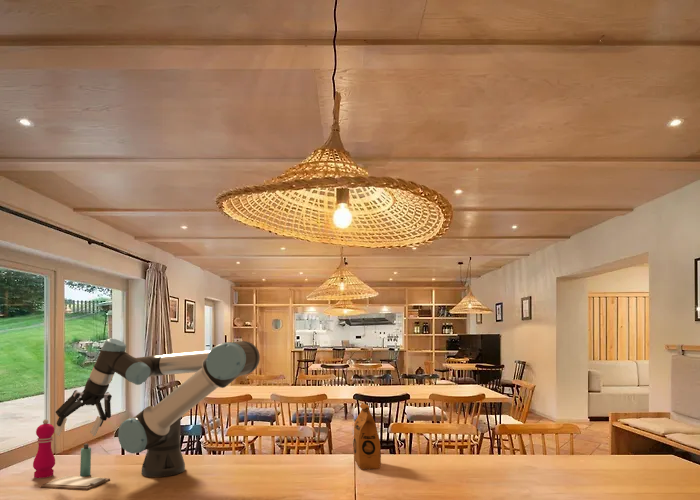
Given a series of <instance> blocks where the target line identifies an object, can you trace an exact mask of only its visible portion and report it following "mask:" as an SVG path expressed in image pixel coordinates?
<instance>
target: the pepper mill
mask: <svg viewBox="0 0 700 500" xmlns="http://www.w3.org/2000/svg"><path fill="white" fill-rule="evenodd" d="M54 434H55V427H54V425H53V424H50V423H49V420H48V419H43V420H42V424H40V425H38V427H37V428H36V430H35V435H36V436H37V441H36V442H37V443H38V447H37V452H36V455H35V457H34V459H33V462H32V468H33V469H34V470H35V471H34V472H33V478H34V479H47V478H50V477H53V476H54V472H55V471H54V469H53V468H54V467H55V465H56V458H55V456H54V452H53V450H52V441H54V440H53V438H54V437H53V435H54Z"/></svg>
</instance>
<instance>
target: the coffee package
mask: <svg viewBox="0 0 700 500" xmlns="http://www.w3.org/2000/svg"><path fill="white" fill-rule="evenodd" d="M359 408H361V410H360V412H359V414H358V415H357V416H356V417H357V418H356V419H355V421H354V426H353V440H352V441H353V445H352V447H353V457H354V462H355V464H356V465H357V466H358V468H359V469H361V470H378V469H381V461H382V450H381V440H380V436H379V433H378V428H377V425H376V423H375V420H374V418H373V414H372V413H371V411H370V405H368V404H367V403H364V402H362V403H361V404H360V405H359Z"/></svg>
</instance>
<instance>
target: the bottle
mask: <svg viewBox="0 0 700 500" xmlns="http://www.w3.org/2000/svg"><path fill="white" fill-rule="evenodd" d="M89 445H90V444H89V443H84V444H83V447H81V448H80V462H79V463H80V470H79V471H80V472H79V473H80V474H79V477H86V476H87V477H91V474H92V473H91V472H92V470H91V468H92V467H91V466H92V463H91V462H92V461H91V460H92V447H89Z"/></svg>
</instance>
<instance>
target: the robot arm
mask: <svg viewBox="0 0 700 500" xmlns="http://www.w3.org/2000/svg"><path fill="white" fill-rule="evenodd" d="M126 349H127V345H126V343H125V342H124V341H121V340H119V339H116V338H108V339H106V340H105V342H104V344H103V346H102V347H101V348H100V350H99V354H98V356H97V359H96V362H95V363H94V365H93V368H92V370H91V372H90V374H89V377H88V378H87V381H86V382H85V384H84V389H83V391H82V392H81V391H78V390H77V389H75V390H74V391H73V392H72V394H71V396H69V398H67V399H66V401H64V403H63V404H61V405H60V407H59V408H58V409H57V410H56V411H55V415H57V417H58V419H57V420H56V425H57V426H56V427H55V429H54V434H55V435H56V436H57V437H60V435H61V434H62V432H63V430H64V427H65V425H66V423H67V420H68V418H67V417H69V416H70V415H71V414H73V413H74V412H76V411H77V410H79V409H80V408H81V407H82V408H83V407H84V406H95V407H96V409H97V412H98V414H99V415H97V416H96V418H95V421H94V423H93V424H92V425H93V426H92V427H91V430H90V432H89V433H90V434H91V435H92V437H95V436H96V435H97V434H98V430H99V429H100V428H101V427H102V425H103V424H104V421H107V419H110V418H111V417H112V412H111V411H112V409H111V400H112V395H111V393H110V392H109V391H108V389H109V386H110V384H111V382H112V380H113V377H114V376H115V373H116V374H117V375H119V376H121V377H122V378H124V379H125V380H126V381H127V382H130V383H132V384H133V385H137V386H139V385H143V383H146V381H147V380H148V378H150V377H159V376H167V375H169V376H170V375H181V374H192V373H194V374H192V375H191V376H190V377H188V378H187V379H185V381H184V382H182V383H181V384H180V385H179V386H178V387H177V388H176V387H175V389H174V390H173V391H172V392H170V393H169V394H168V395H166V396H165V397H164V398H163V399H161V401H159V402H158V403H157V404H155V406H153V405H148V406H147V407H144V409H142V410H141V411H140V412H139V413H138V414H136V415H135V416H134V417H129V418H127V419H125V420H124V421H122V423H121V424H120V426H119V428H118V435H117V438H118V443H119V444H120V446H121V448H122V449H123V450H124V451H125V452H127V453H129V454H138V453H139V454H140V453H142V452H143V451H146V454H145V456H144V460H143V463H142V466H141V475H142V476H144V477H148V478H160V477H161V478H162V477H163V478H164V477H171V476H176V475H179V474H182V473H183V472H185V470H186V463H185V460H184V456H183V454H182V451H181V426H182V425H181V424H182V423H181V422H182V421H181V420H182V417H183V416H184V415H185V414H187V413H188V412H189V411H190V410H192V409H193V408H194V407H195V406H196V405H198V404H199V403H200V402H201V401H203V400H204V399H205V398H206V397H208V396H209V395H210V394H211V393H212V392H214V391H215V390H216V389H217V388H219V389H220V388H222V389H224V388H226V387H227V386H228V385H230V384H232V382H234V381H236V380H237V378H239V377H242V376H245V375H249V374H251V373H252V372H254V371H255V370H256V369H257V368H258V366H259V364H260V360H261V359H260V358H261V354H260V352H259V349H258V347H257V346H256V345H254V343H252V342H249V341H244V340H242V341H233V342H232V341H230V342H228V341H227V342H222V343H219V344H217V345H215V346H214V347H213V348H211V349H207V350H206V349H205V350H197V351H187V352H178V353H176V352H175V353H167V354H154V355H150V356H149V355H148V356H140V357H135V356H133V355H130V354H129V353H127V352H126ZM103 399H104V400H103ZM102 400H103V402H104V408H103V406H102V403H101V401H102Z"/></svg>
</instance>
